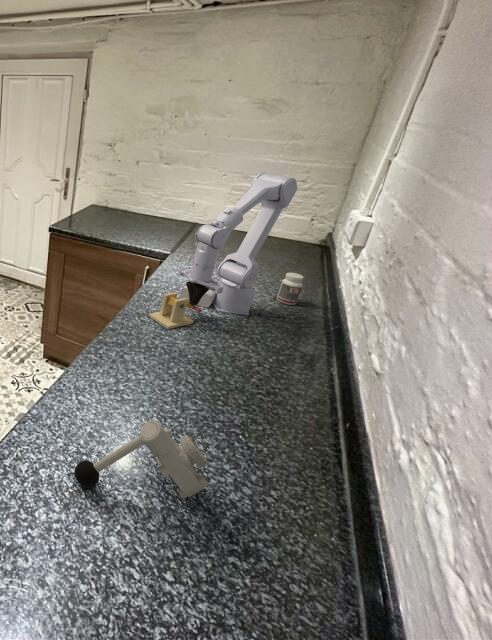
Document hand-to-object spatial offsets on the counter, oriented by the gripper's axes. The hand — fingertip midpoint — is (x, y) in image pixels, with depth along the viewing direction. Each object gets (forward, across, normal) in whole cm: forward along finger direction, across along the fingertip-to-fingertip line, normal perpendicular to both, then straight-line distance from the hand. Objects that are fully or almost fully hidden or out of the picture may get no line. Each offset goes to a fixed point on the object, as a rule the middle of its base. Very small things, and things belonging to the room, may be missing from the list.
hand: (193, 304), depth 124 cm
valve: (+4, +41, -58) cm, 71 cm away
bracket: (+4, 0, -8) cm, 9 cm away
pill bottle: (+4, +4, +40) cm, 41 cm away
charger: (+4, -9, +14) cm, 17 cm away
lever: (0, 0, -5) cm, 5 cm away
